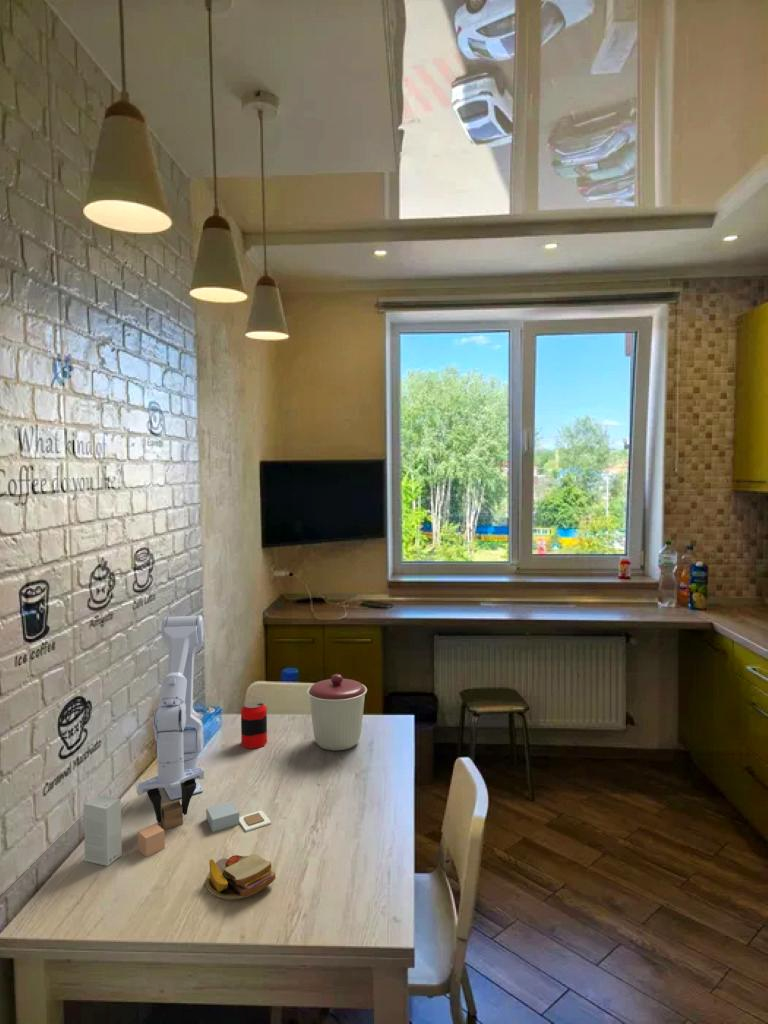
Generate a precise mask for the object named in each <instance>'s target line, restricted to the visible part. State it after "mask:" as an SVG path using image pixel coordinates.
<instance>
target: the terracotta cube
mask: <svg viewBox="0 0 768 1024" xmlns="http://www.w3.org/2000/svg"><path fill="white" fill-rule="evenodd" d="M165 834H166V833H165V829H164V828H162V827H161V826H160V825H158V823H156V822H155V823H154V824H151V825H147V826H146V827H144V828H141V829H138V831H137V834H136V835H137V850H138V851H139V852H141V854H142V855H143V856H145V857H146V858H147V857H150V856H152V855H154V854H156V853H158V852H160V851H162V850H164V849H166V848H165V843H166V840H165V838H166V837H165Z"/></svg>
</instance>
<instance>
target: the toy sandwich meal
mask: <svg viewBox="0 0 768 1024" xmlns="http://www.w3.org/2000/svg"><path fill="white" fill-rule="evenodd" d="M276 877H277V876H276V872H274V871H273V870H272V861H270V860H269V861H268V860H266V859H264V858H263V857H261V856H259V855H258V854H257V853H253V854H251V855H239V854H235V855H231V856H230V857H229V858H221V859H218V860H217V861H215V860H214V859H210V860H209V873H208V874H207V875H206V878H205V885H206V888H207V890H208V891H209V892H210V893H211V894H212V895H213V896H216V897H218V898H219V899H223V900H229V901H230V900H231V901H232V900H233V901H234V900H235V901H236V900H242V899H245V898H249V897H251V896H253V895H255V894H257V893H259V892H260V891H261V890H263V889H265V888H266V887H268V886H269V885H271V883H273V882H274V881H275V880H276Z"/></svg>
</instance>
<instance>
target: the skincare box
mask: <svg viewBox="0 0 768 1024" xmlns="http://www.w3.org/2000/svg"><path fill="white" fill-rule="evenodd" d="M121 803H122V801H121V798H119V797H118V798H117V797H110V796H106V795H101V794H98V795H96V796H95V797H93V798H91V799H90V800H88V801H86V802H84V804H83V825H84V826H83V827H84V829H83V831H84V833H83V834H84V860H85V862H89V863H92V864H97V865H102V866H105V867H109V866H110V865H111V864H112V863H114V862H115V861H116V860H117V859H118V858H120V857H121V856H122V855H123V844H122V842H123V841H122V807H121V806H122V805H121Z"/></svg>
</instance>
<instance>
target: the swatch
mask: <svg viewBox="0 0 768 1024" xmlns="http://www.w3.org/2000/svg"><path fill="white" fill-rule="evenodd" d="M271 824H272V821H271V820H270V818H269V817H268V816H267V815H266V813H265V812H264V811H263V810H262V809H261V810H257V811H254V812H251V813H248V814H245V815H242V816H239V825H240V826H241V827H242V829H243V831H244V832H249V831H250V832H251V831H252V830H256V829H259V828H262V827H266V826H268V825H271Z"/></svg>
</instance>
